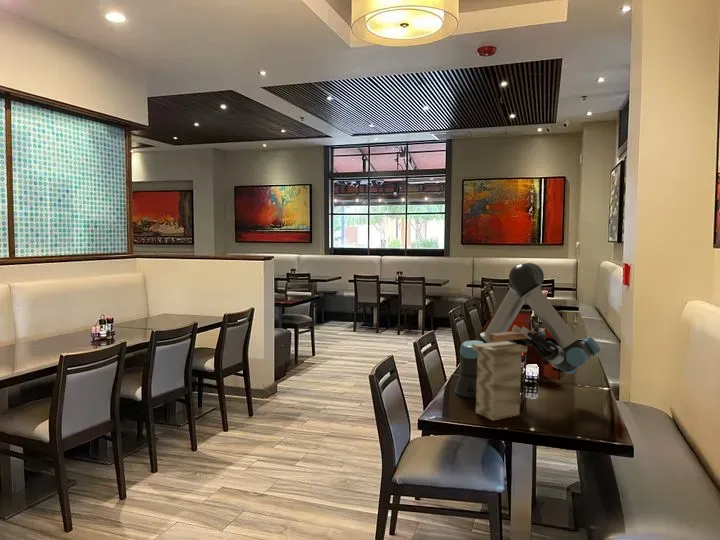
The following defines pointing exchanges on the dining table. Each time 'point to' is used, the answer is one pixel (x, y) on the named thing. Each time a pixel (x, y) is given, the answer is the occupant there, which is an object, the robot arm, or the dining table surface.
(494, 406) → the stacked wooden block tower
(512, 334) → the strip
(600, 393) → the dining table surface
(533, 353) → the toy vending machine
